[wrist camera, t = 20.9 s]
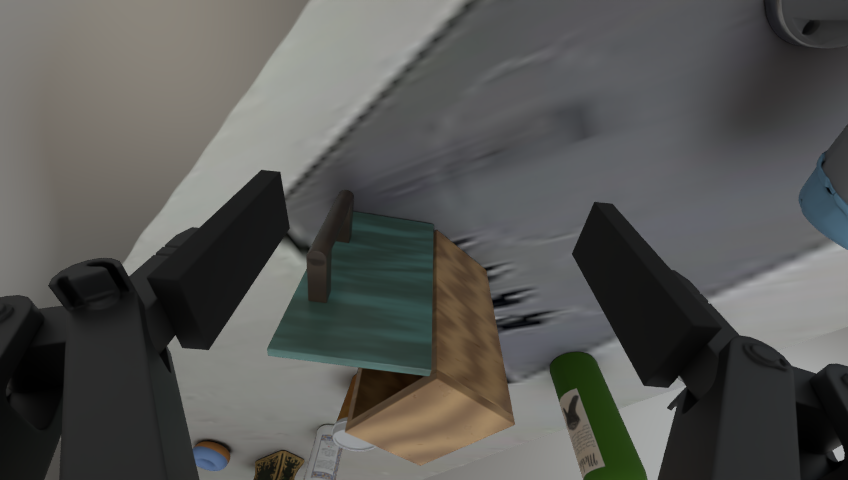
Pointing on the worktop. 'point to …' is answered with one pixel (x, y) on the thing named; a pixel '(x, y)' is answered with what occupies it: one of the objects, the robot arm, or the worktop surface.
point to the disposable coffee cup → (339, 427)
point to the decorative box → (278, 466)
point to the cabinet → (441, 373)
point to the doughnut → (211, 456)
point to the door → (363, 295)
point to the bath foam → (323, 456)
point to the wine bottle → (594, 420)
